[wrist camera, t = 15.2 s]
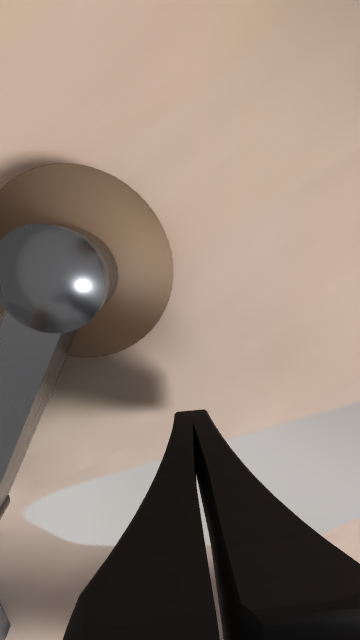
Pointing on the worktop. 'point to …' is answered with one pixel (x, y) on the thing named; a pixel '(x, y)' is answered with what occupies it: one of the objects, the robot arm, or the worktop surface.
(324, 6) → the worktop surface
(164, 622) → the robot arm
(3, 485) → the crank
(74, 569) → the worktop surface
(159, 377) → the worktop surface
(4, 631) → the tray
